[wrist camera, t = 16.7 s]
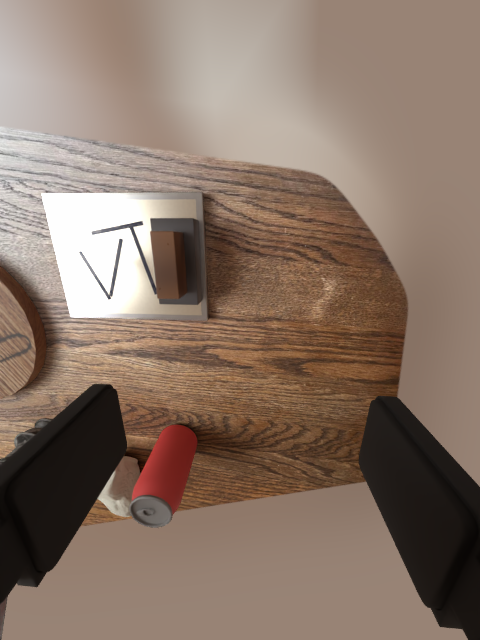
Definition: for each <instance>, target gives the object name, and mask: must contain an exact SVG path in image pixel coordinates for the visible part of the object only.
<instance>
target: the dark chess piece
mask: <svg viewBox="0 0 480 640" xmlns="http://www.w3.org/2000/svg"><path fill="white" fill-rule="evenodd" d="M50 421H52V420H51V419H46V418H44V419H40V420H38V421H37V422H36V424H35V428H32V429H29V430H27V431H25V432H22V433H20V434H18V435H17V436H16V437H15V440H14V444H15V449H14V450H13V451H12V452H11V453H9V454H8V455H7V456H6V457H5V458H2V459H0V465H1V464H2V463H3V462H4V461H6V460H7V459H8V458H9V457H10V456H11V455H12V454H14V453H15V452H16V451H17V450H18V449H19V448H20V447H22V446H23V445H24V444H25V443H26V442H27V441H29V440H30V439H31V438H32V437H33V436H34V435H35V434H37V433H38V432H39V431H40V430H41V429H42V428H43V427H45V426H46V425H47V424H48V423H49V422H50Z"/></svg>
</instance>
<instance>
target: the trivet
mask: <svg viewBox="0 0 480 640" xmlns="http://www.w3.org/2000/svg"><path fill="white" fill-rule="evenodd" d="M46 349H47V344H46V337H45V330H44V326H43V324H42V321H41V319H40V316H39V314H38V311H37V309H36V307H35V305H34V304H33V302H32V301H31V299H30V298H29V296H28V295H27V293H26V292H25V291H24V289H23V288H22V286H21V285H20V284H19V283H18V282H17V281H16V280H15V279H14V278H13V277H12V276H11V275H10V274H9V273H8V272H7V271H6V270H5V269H4V268H2V267H1V266H0V399H1V398H4V397H6V396H9V395H12V394H15V393H16V392H18V391H19V390H21V389H23V388H24V387H26V386H27V385H28V384H29V383H30V382H32V381H33V380H34V379H35V378H36V377H37V376H38V374H39V372H40V371H41V369H42V367H43V365H44V362H45V356H46Z"/></svg>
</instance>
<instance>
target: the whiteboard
mask: <svg viewBox="0 0 480 640" xmlns="http://www.w3.org/2000/svg"><path fill="white" fill-rule="evenodd" d="M41 195H42V199H43V203H44V208H45V212H46V216H47V220H48V224H49V229H50V233H51V237H52V241H53V245H54V249H55V254H56V258H57V262H58V266H59V270H60V275H61V279H62V283H63V287H64V291H65V296H66V300H67V304H68V308H69V312H70V317H74V318H115V319H157V320H198V321H208V319H209V308H208V283H207V259H206V234H205V210H204V193H203V192H127V193H41ZM150 218H194V219H196V220H198V221H199V239H200V260H201V280H202V301H201V302H200V303H199V304H198V305H175V304H159V299H158V298H157V291H156V282H155V273H154V264H153V255H152V246H151V237H150V231H151V222H150Z"/></svg>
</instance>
